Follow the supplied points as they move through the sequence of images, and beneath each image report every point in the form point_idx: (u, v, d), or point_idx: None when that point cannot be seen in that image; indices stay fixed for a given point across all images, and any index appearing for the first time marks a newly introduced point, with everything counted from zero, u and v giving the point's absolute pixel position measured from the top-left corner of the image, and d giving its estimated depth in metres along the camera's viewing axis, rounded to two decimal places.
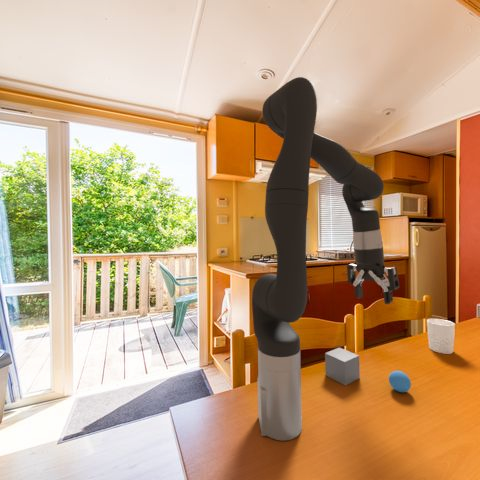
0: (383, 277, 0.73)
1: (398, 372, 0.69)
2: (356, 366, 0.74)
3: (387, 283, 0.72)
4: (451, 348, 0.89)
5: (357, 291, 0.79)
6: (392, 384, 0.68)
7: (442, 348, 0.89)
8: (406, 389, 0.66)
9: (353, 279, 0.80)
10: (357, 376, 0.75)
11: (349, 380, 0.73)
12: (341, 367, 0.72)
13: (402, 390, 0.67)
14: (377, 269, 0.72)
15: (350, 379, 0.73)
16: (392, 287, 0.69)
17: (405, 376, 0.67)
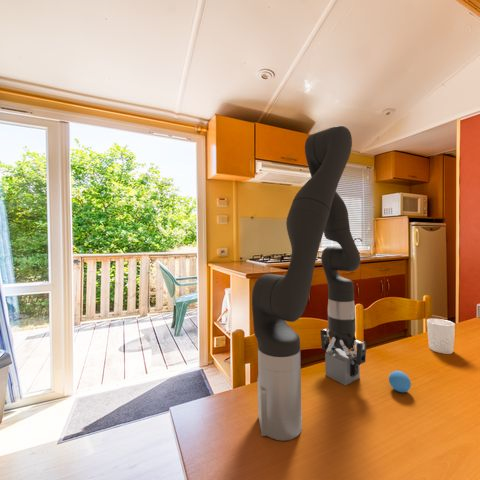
0: (352, 348, 0.74)
1: (398, 372, 0.69)
2: None
3: (355, 355, 0.73)
4: (451, 348, 0.89)
5: None
6: (392, 384, 0.68)
7: (442, 348, 0.89)
8: (406, 389, 0.66)
9: (327, 345, 0.81)
10: (357, 376, 0.75)
11: (349, 380, 0.73)
12: (341, 367, 0.72)
13: (402, 390, 0.67)
14: (348, 339, 0.73)
15: (350, 379, 0.73)
16: (358, 361, 0.70)
17: (405, 376, 0.67)
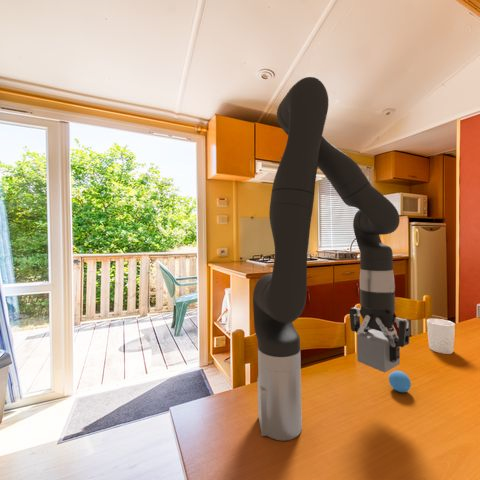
0: (391, 328, 0.62)
1: (398, 372, 0.69)
2: None
3: (395, 336, 0.60)
4: (451, 348, 0.89)
5: None
6: (392, 384, 0.68)
7: (442, 348, 0.89)
8: (406, 389, 0.66)
9: (357, 326, 0.68)
10: (397, 362, 0.62)
11: (388, 367, 0.60)
12: (379, 350, 0.60)
13: (402, 390, 0.67)
14: (386, 317, 0.60)
15: (390, 365, 0.60)
16: (401, 343, 0.57)
17: (405, 376, 0.67)
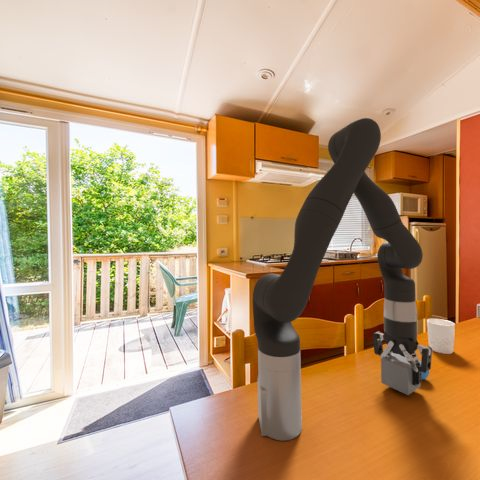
0: (413, 353, 0.67)
1: None
2: None
3: (417, 362, 0.66)
4: (451, 348, 0.89)
5: None
6: None
7: (442, 348, 0.89)
8: None
9: (380, 350, 0.73)
10: (418, 384, 0.67)
11: (411, 389, 0.65)
12: (403, 374, 0.65)
13: None
14: (409, 344, 0.66)
15: (412, 388, 0.66)
16: (423, 369, 0.63)
17: None
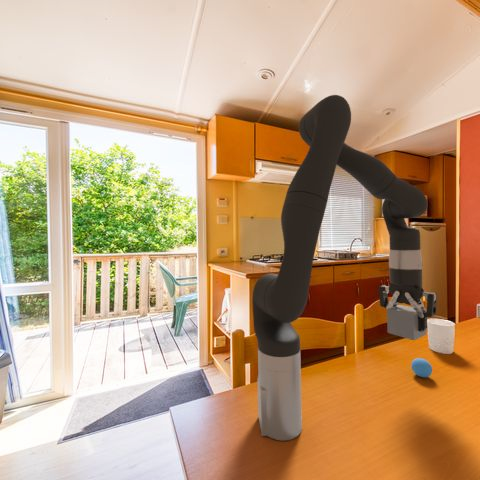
0: (419, 302, 0.69)
1: (417, 369, 0.74)
2: None
3: (422, 309, 0.68)
4: (451, 348, 0.89)
5: None
6: None
7: (442, 348, 0.89)
8: None
9: (386, 303, 0.75)
10: (424, 332, 0.69)
11: (417, 335, 0.67)
12: (409, 321, 0.67)
13: None
14: (415, 291, 0.67)
15: (418, 334, 0.67)
16: (429, 313, 0.65)
17: (424, 370, 0.73)
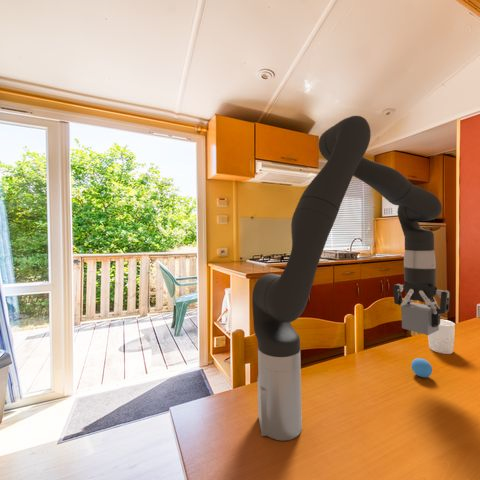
0: (432, 299, 0.73)
1: (417, 369, 0.74)
2: None
3: (436, 306, 0.72)
4: (451, 348, 0.89)
5: None
6: None
7: (442, 348, 0.89)
8: None
9: (400, 300, 0.79)
10: (437, 328, 0.73)
11: (431, 331, 0.71)
12: (423, 317, 0.71)
13: None
14: (429, 289, 0.72)
15: (432, 329, 0.72)
16: (442, 310, 0.69)
17: (424, 370, 0.73)
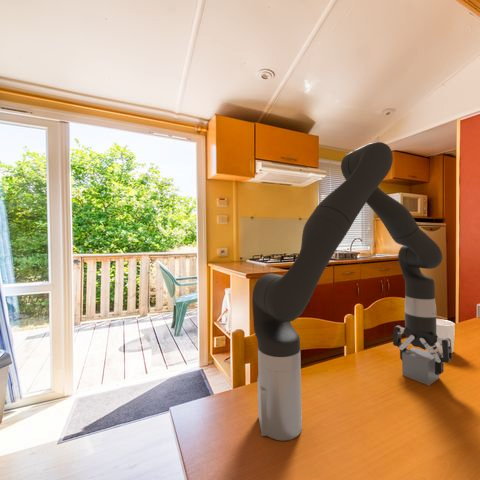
0: (434, 346, 0.73)
1: None
2: None
3: (438, 353, 0.72)
4: None
5: None
6: None
7: None
8: None
9: (399, 342, 0.80)
10: (437, 376, 0.74)
11: (431, 380, 0.72)
12: (423, 367, 0.71)
13: None
14: (429, 338, 0.72)
15: (432, 379, 0.72)
16: (446, 359, 0.69)
17: None
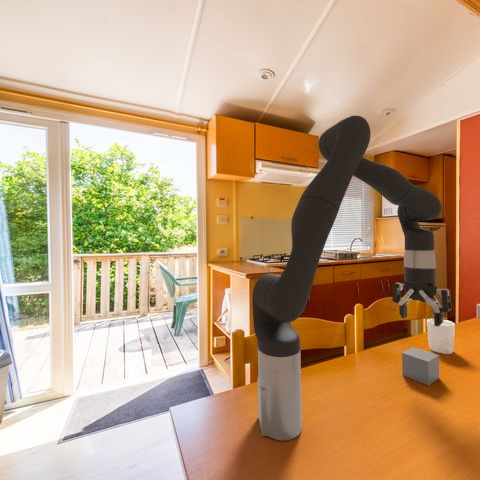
0: (433, 298, 0.73)
1: None
2: (437, 366, 0.73)
3: (438, 305, 0.72)
4: (451, 348, 0.89)
5: (402, 311, 0.78)
6: None
7: (442, 348, 0.89)
8: None
9: (398, 298, 0.80)
10: (437, 376, 0.74)
11: (431, 380, 0.72)
12: (423, 367, 0.71)
13: None
14: (429, 289, 0.72)
15: (432, 379, 0.72)
16: (445, 309, 0.69)
17: None
